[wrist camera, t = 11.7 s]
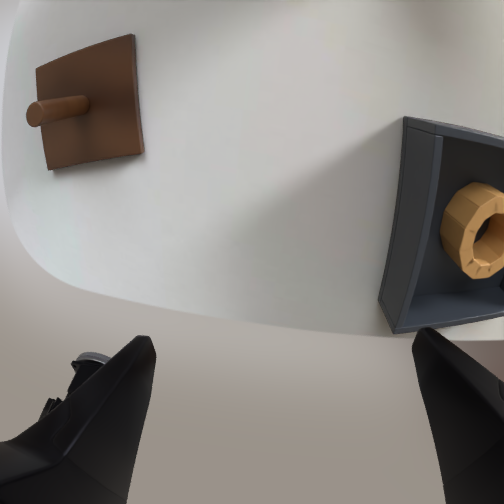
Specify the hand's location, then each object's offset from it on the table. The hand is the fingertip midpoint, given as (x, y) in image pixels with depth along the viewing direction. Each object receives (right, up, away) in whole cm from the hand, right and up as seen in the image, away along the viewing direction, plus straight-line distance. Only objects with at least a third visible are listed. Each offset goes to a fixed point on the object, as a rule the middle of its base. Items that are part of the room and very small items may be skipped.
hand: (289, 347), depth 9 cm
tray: (+16, +5, +10) cm, 19 cm away
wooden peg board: (-12, +13, +7) cm, 19 cm away
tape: (+16, +5, +9) cm, 19 cm away
